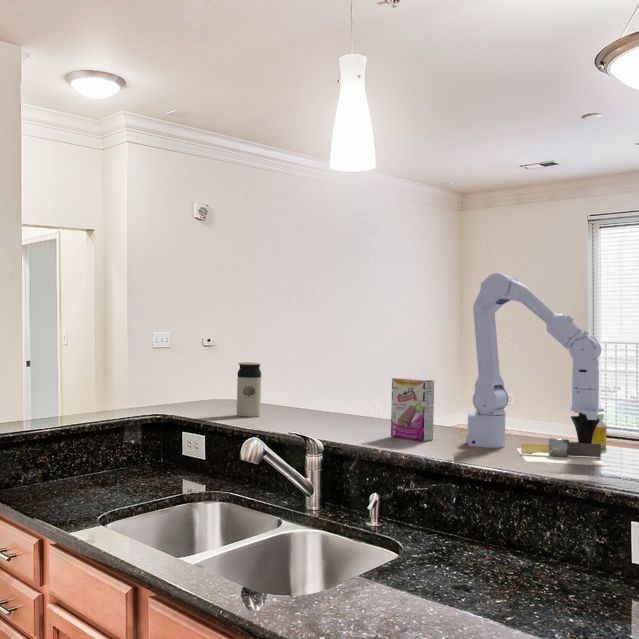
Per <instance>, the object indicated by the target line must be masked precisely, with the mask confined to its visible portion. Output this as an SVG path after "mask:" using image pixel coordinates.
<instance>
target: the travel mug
mask: <svg viewBox="0 0 639 639" xmlns="http://www.w3.org/2000/svg"><path fill="white" fill-rule="evenodd" d="M238 365H239V369H238V371H237V381H236V383H237V387H236V388H237V390H236V416H238V417H241V418H257V417H260V415H261V406H262V405H261V403H262V402H261V398H262V392H261V391H262V372H261V369H260V366H261V362H253V361H252V362H249V361H248V362H247V361H246V362H245V361H244V362H243V361H240V362H238Z"/></svg>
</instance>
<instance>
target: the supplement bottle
mask: <svg viewBox="0 0 639 639" xmlns="http://www.w3.org/2000/svg"><path fill="white" fill-rule="evenodd" d="M597 417H598V419H600V421H599V423H598V424H597V426H596V428H595V431H594V434H593V438H592V442H591V443H600V444H601V450H605V449H607V423H606V422H605V421H603V420H604V419H605V414H604V412H598V413H597Z"/></svg>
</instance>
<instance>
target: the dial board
mask: <svg viewBox="0 0 639 639" xmlns="http://www.w3.org/2000/svg"><path fill="white" fill-rule="evenodd" d="M515 449H516V451H518V453H519V454H520V456H521V457H522V459H523V460H524V461H525V462H526V463H528V462H529V463H549V464H564V465H565V464H567V465H582V466H583V465H587V466H589V465H590V466H604V467H605V466H606V467H607V466H609V465H608V464H607V463H606V462H604V461H602V460H601V459H599V457H584V456H553V455H549V453H539V452H522V447H521V448H520V447H518V448H515Z"/></svg>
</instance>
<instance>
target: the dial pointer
mask: <svg viewBox="0 0 639 639" xmlns="http://www.w3.org/2000/svg"><path fill="white" fill-rule="evenodd" d="M521 449H522V452H539V453H549V455H553V456H584V457H597V458H602V457H601V456H602V449H601V444H600V443H586V442H578V441H570V439H569V438H565V437H548V443H536V442H535V443H534V442H533V443H532V442H521Z"/></svg>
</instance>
